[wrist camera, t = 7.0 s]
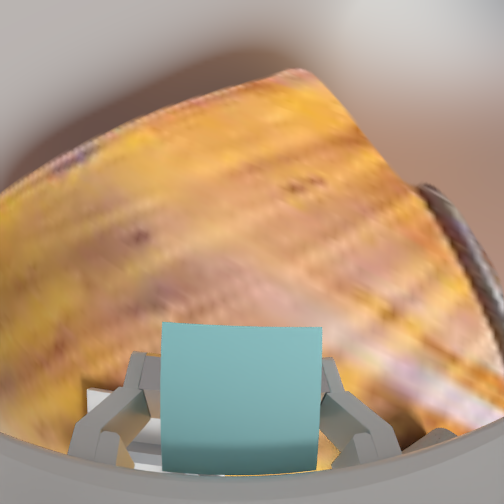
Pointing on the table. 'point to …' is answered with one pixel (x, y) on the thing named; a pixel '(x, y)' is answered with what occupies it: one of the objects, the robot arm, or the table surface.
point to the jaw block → (239, 399)
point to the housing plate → (139, 438)
